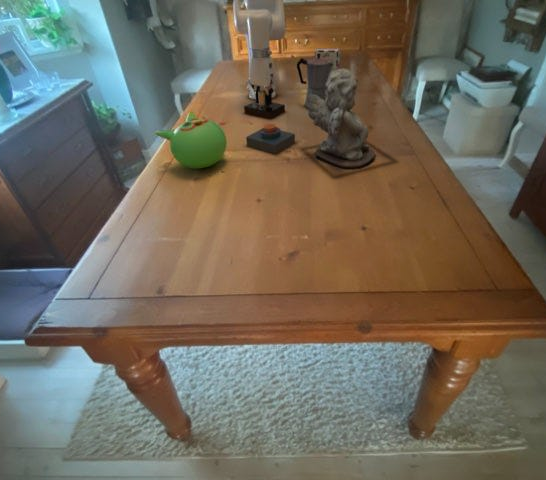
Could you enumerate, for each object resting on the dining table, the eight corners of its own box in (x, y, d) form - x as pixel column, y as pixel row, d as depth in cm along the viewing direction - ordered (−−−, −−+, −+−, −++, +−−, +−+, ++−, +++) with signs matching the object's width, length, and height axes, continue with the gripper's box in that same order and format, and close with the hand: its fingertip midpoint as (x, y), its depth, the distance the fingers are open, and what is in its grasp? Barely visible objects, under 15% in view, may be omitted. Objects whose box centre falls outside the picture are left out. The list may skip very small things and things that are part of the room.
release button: (262, 132, 119) (261, 127, 118) (269, 128, 121) (268, 123, 120) (271, 134, 117) (270, 129, 116) (278, 130, 120) (277, 125, 118)
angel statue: (333, 177, 103) (339, 86, 86) (302, 149, 118) (301, 67, 101) (395, 161, 109) (411, 73, 92) (357, 137, 124) (365, 57, 107)
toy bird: (202, 182, 104) (191, 133, 94) (163, 169, 111) (149, 123, 101) (239, 158, 115) (233, 112, 105) (201, 148, 122) (192, 104, 112)
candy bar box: (339, 87, 169) (341, 48, 157) (336, 90, 165) (338, 50, 154) (317, 86, 172) (317, 47, 161) (313, 88, 169) (314, 49, 157)
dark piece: (247, 146, 122) (245, 131, 119) (266, 135, 129) (265, 121, 125) (276, 154, 116) (275, 139, 113) (294, 142, 123) (294, 128, 119)
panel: (244, 113, 147) (243, 105, 145) (259, 106, 153) (258, 99, 150) (270, 119, 140) (270, 111, 138) (285, 112, 146) (284, 104, 144)
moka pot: (330, 110, 145) (333, 56, 132) (294, 109, 148) (293, 56, 134) (333, 103, 152) (336, 50, 139) (298, 102, 155) (298, 50, 141)
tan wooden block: (256, 106, 144) (255, 91, 140) (263, 102, 147) (262, 88, 143) (265, 107, 142) (263, 92, 138) (271, 104, 145) (270, 89, 141)
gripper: (283, 53, 130) (285, 104, 142) (249, 49, 138) (254, 97, 150) (271, 57, 126) (274, 109, 138) (237, 52, 133) (242, 102, 146)
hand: (264, 103), depth 144 cm, fingers closed on tan wooden block, 4 cm apart
